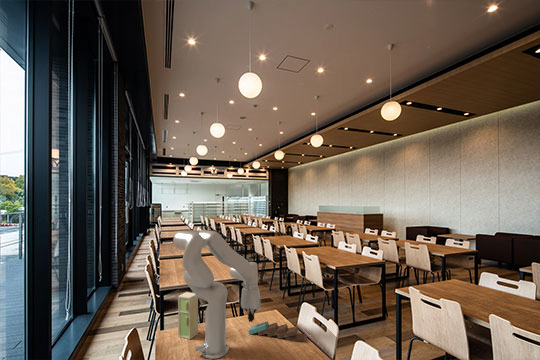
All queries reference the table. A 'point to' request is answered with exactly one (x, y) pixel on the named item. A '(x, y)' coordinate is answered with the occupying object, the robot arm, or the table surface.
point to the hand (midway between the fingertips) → (251, 320)
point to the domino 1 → (258, 327)
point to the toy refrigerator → (187, 315)
